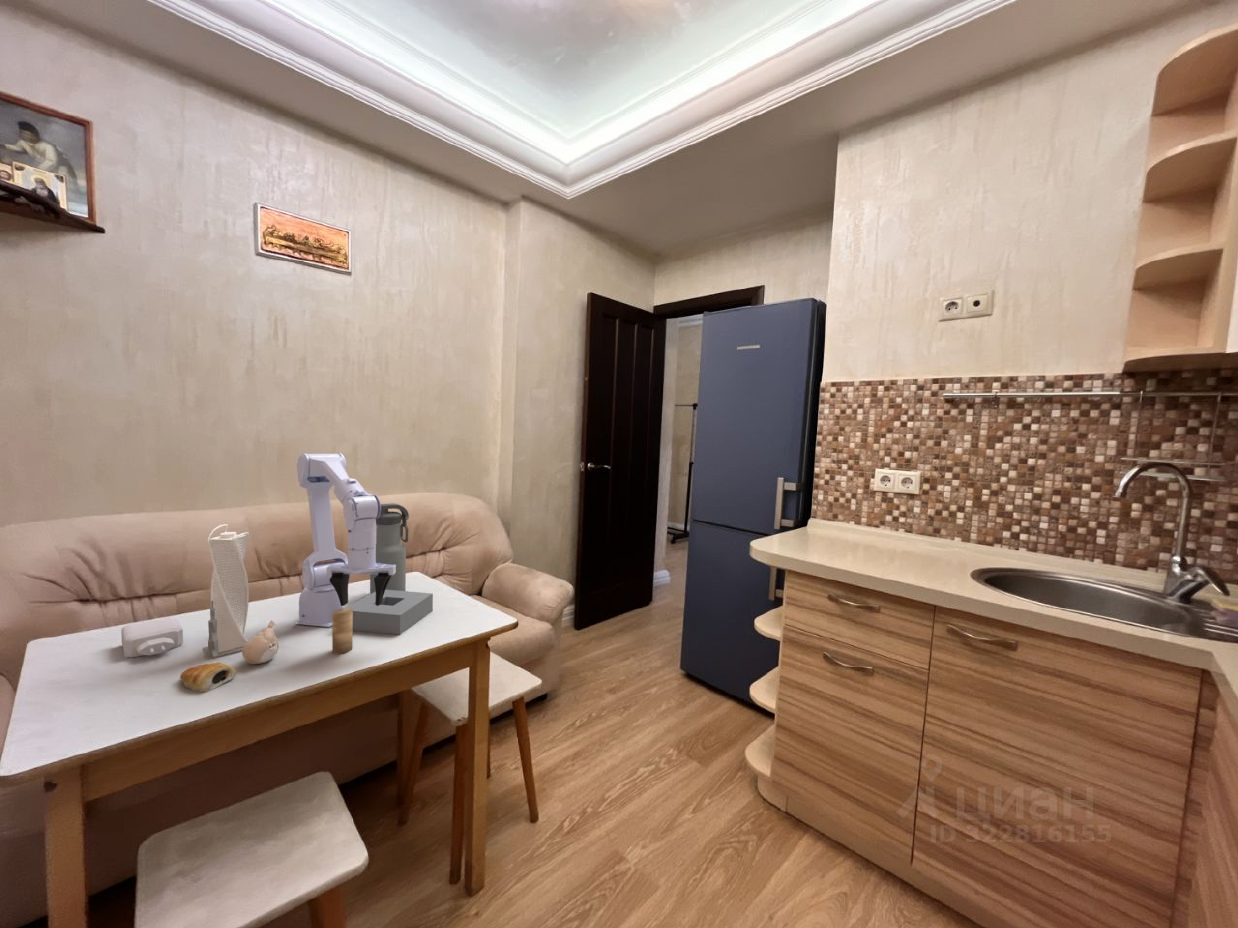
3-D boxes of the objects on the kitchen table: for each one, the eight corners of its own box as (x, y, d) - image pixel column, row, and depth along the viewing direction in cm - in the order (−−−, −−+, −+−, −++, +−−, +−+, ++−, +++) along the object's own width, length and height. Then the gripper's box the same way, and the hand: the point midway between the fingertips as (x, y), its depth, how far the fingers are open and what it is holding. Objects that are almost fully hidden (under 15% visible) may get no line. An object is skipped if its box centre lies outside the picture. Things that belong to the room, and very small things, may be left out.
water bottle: (401, 587, 151) (402, 501, 149) (411, 596, 144) (412, 505, 142) (366, 593, 145) (367, 503, 143) (374, 602, 137) (375, 507, 135)
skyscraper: (201, 647, 107) (199, 525, 105) (246, 636, 113) (245, 521, 111) (208, 660, 101) (206, 532, 100) (255, 648, 108) (253, 527, 106)
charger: (127, 670, 97) (121, 646, 106) (187, 655, 104) (177, 634, 113) (126, 647, 96) (121, 625, 106) (187, 634, 103) (177, 615, 113)
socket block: (340, 628, 119) (340, 609, 119) (379, 606, 135) (379, 589, 135) (400, 634, 117) (400, 615, 117) (432, 610, 133) (432, 593, 133)
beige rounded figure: (284, 660, 103) (284, 624, 102) (249, 671, 97) (248, 634, 97) (272, 651, 106) (271, 616, 106) (237, 662, 101) (236, 626, 101)
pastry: (168, 686, 91) (168, 667, 91) (206, 670, 98) (206, 652, 98) (203, 695, 89) (203, 675, 89) (240, 678, 95) (240, 659, 95)
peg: (328, 653, 107) (328, 614, 106) (340, 645, 111) (340, 607, 110) (344, 654, 106) (344, 615, 106) (356, 646, 110) (356, 609, 110)
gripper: (319, 551, 104) (319, 611, 105) (388, 551, 106) (388, 610, 107) (334, 543, 111) (334, 599, 112) (399, 544, 113) (398, 599, 114)
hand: (361, 604), depth 110 cm, fingers open, 7 cm apart
